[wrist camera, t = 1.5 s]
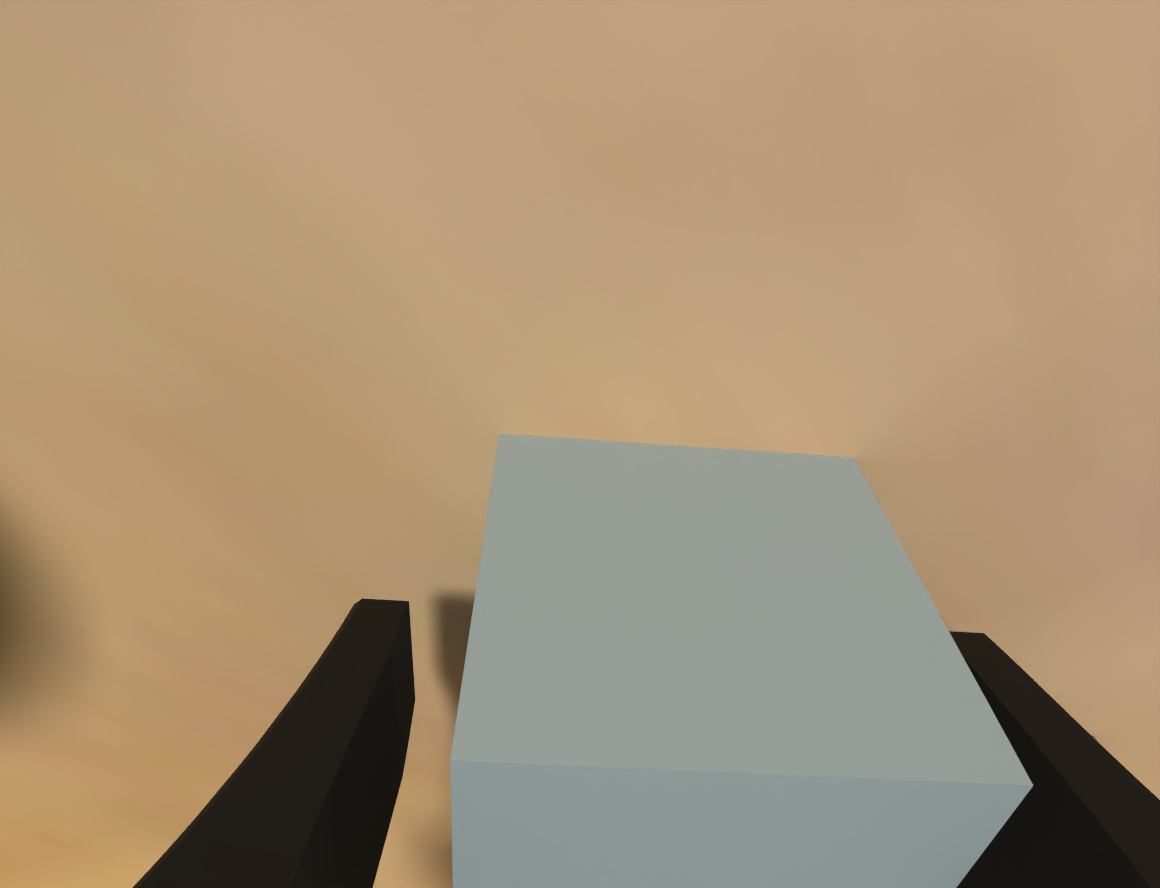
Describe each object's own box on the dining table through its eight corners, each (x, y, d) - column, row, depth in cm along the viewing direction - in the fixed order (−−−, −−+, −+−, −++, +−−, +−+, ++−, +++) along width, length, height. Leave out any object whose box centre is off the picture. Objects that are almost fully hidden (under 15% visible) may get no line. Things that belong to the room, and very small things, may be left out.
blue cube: (770, 681, 13) (860, 1014, 9) (493, 667, 13) (455, 1004, 9) (851, 454, 10) (1033, 786, 6) (499, 430, 10) (450, 760, 6)
